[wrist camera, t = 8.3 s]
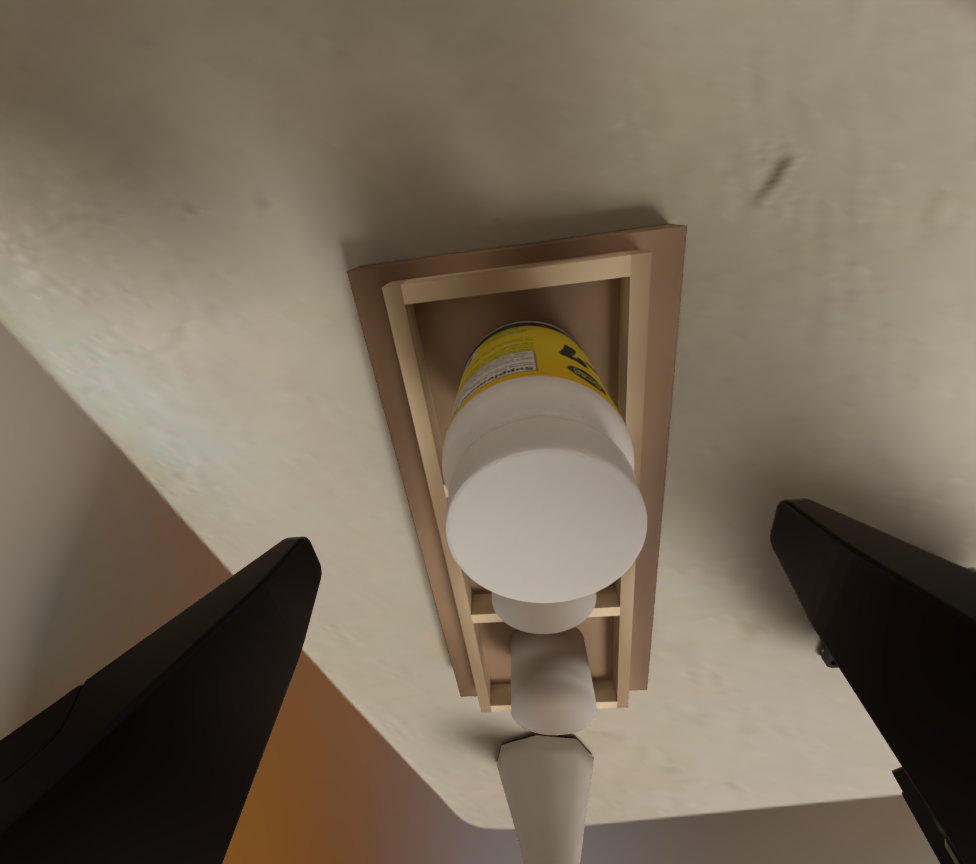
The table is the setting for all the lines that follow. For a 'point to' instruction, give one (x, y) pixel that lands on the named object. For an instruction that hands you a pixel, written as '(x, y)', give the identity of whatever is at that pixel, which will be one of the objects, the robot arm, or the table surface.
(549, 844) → the flask
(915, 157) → the table surface
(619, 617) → the socket tray
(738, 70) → the table surface
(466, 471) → the supplement bottle
